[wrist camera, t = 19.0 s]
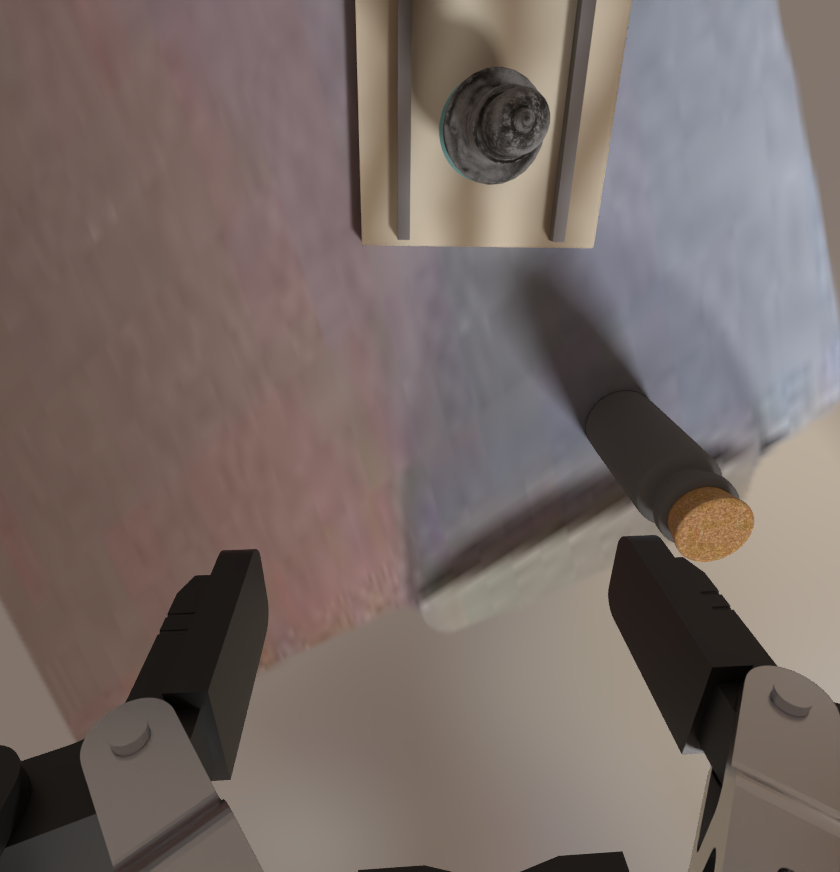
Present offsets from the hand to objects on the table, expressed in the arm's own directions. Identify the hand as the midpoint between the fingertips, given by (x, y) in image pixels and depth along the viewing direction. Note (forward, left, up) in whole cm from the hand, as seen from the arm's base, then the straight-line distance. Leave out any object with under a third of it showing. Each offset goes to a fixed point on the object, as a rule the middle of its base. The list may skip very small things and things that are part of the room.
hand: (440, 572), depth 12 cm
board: (+5, +13, -31) cm, 34 cm away
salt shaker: (+5, +10, -30) cm, 32 cm away
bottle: (+18, -11, -31) cm, 38 cm away
